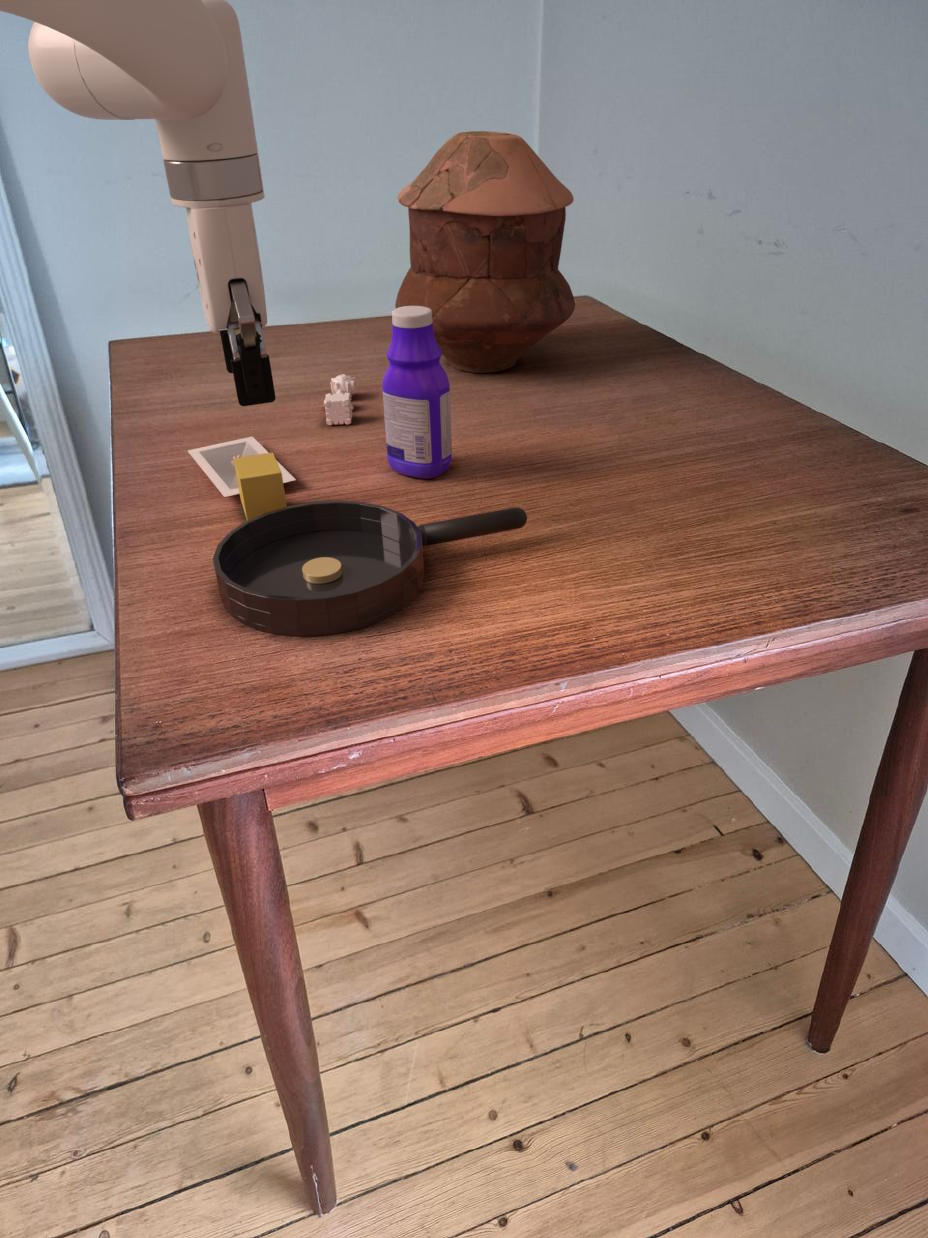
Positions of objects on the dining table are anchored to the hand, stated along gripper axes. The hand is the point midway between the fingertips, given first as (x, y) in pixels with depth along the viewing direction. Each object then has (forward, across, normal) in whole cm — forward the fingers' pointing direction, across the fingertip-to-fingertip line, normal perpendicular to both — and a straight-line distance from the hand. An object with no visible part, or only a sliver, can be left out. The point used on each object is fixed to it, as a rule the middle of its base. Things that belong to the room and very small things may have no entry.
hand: (250, 386), depth 83 cm
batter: (+13, +13, +2) cm, 19 cm away
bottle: (+14, -7, +17) cm, 23 cm away
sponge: (+14, -2, -1) cm, 14 cm away
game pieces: (+14, -30, +13) cm, 35 cm away
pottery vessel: (+15, -41, +37) cm, 57 cm away
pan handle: (+12, +13, +17) cm, 25 cm away
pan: (+14, +13, +2) cm, 19 cm away
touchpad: (+14, -14, -2) cm, 20 cm away
